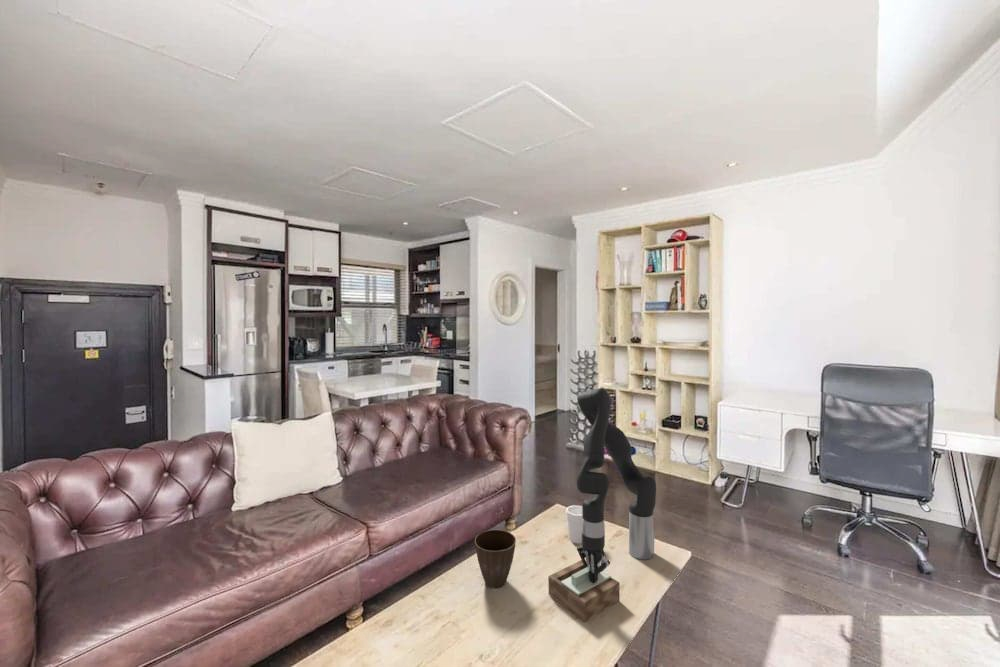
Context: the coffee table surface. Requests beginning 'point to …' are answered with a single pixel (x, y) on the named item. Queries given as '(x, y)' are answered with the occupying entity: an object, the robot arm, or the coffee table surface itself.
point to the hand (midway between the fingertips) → (593, 581)
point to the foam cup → (574, 523)
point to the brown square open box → (587, 601)
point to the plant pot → (495, 556)
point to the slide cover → (583, 581)
